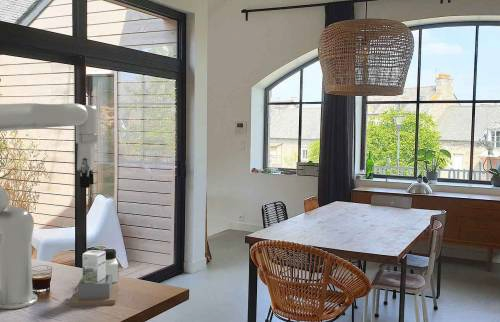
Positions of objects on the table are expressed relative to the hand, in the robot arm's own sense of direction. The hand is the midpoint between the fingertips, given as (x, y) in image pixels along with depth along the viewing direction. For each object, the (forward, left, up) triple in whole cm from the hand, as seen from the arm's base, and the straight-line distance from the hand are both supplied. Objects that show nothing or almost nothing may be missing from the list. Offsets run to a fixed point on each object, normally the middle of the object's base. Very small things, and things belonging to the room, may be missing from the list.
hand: (87, 185), depth 181 cm
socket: (+5, -17, -36) cm, 40 cm away
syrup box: (+5, -17, -35) cm, 39 cm away
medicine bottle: (+7, +2, -36) cm, 37 cm away
